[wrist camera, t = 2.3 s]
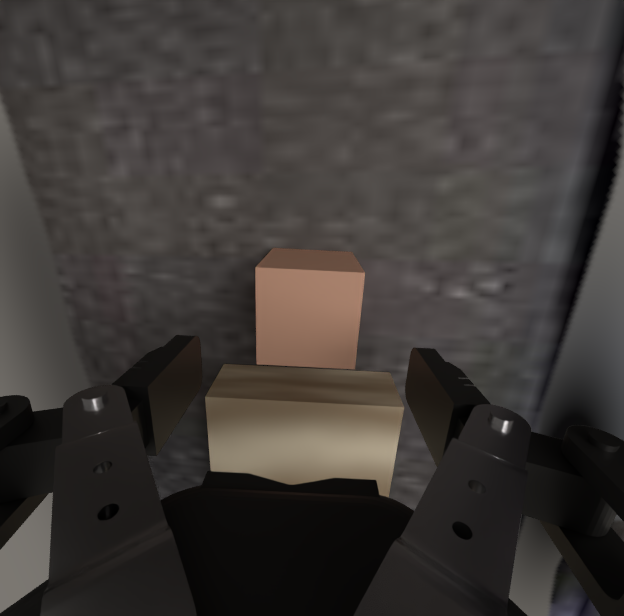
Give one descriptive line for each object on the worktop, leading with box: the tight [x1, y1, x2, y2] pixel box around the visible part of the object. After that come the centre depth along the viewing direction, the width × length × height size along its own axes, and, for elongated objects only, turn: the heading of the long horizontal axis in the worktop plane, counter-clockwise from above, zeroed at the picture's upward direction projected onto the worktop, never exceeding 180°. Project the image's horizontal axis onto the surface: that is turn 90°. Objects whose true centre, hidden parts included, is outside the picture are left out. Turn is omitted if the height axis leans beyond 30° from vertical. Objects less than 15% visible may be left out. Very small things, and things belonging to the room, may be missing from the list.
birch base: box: [205, 364, 404, 497], centre depth 23 cm, size 14×12×4 cm
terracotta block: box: [255, 248, 365, 369], centre depth 18 cm, size 5×5×6 cm
